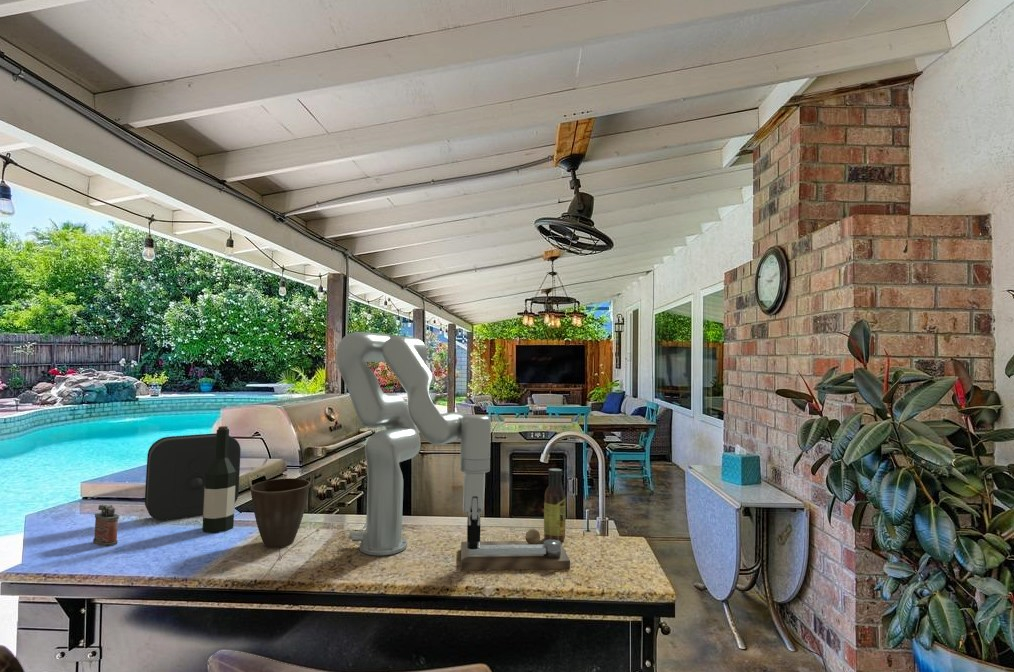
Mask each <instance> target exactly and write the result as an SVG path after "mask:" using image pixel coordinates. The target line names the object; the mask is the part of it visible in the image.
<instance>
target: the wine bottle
mask: <svg viewBox="0 0 1014 672" xmlns="http://www.w3.org/2000/svg"><path fill="white" fill-rule="evenodd" d="M217 428H218V429H216V432H215V433H216V453H215V459H214V460H213V462H212V463H211V465H210V466H209V468H208V469H207V471H206V472H205V489H204V508H203V515H202V528H201V530H202V533H205V534H219V533H223V532H228V531H229V530H231V529H234V522H235V521H234V520H235V504H236V502H235V483H236V470H235V469H234V467H233V465H232V464H231V462H230V460H229V459H228V443H229V436H230V429H229V427H228V426H227V425H226V426H224V425H223V426H218V427H217Z"/></svg>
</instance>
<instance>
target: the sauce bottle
mask: <svg viewBox="0 0 1014 672" xmlns="http://www.w3.org/2000/svg"><path fill="white" fill-rule="evenodd" d="M562 476H563V469H560V468H558V467H557V468H553V467H552V468H549V469H548V486H547V487H546V489H545V492H544V502H543V504H544V505H543V507H544V508H543V534H544V535H543V537H544V539H545V540H549V539H553V540H558V541H560V542H563V541H564V540H565V539H566V510H567V509H566V507H567V506H566V505H567V504H566V501H567V500H566V499H567V497H566V495H565V490H564V488H563V483H562Z"/></svg>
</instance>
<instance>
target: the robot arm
mask: <svg viewBox="0 0 1014 672" xmlns="http://www.w3.org/2000/svg"><path fill="white" fill-rule="evenodd" d="M335 354H336V355H335V358H336V360H335V361H336V365H337V369H338V372H339V373H340V376H341V377H342V380H343V382H344V385H345V386H346V388H347V391H348V394H349V397H350V400H351V402H352V404H353V408H354V410H355V413H356V415H357V418H358V420H359V422H360V424H361V425H362V426H363V427H364V428H366V429H378V428H383V427H385V429H383V430H380V431H377V432H375V433H373V434H372V435H371V436H370V437H369V438H368V439H367V441H366V443H365V446H364V456H365V462H366V463H365V464H366V470H367V471H366V472H367V483H366V484H367V488H366V489H367V494H366V520H365V521H366V522H365V526H366V527H365V530H362V531H350V532H349V540H351V542H359V551H360V552H362V553H363V554H366V555H369V556H380V557H381V556H390V555H395V554H398V553H400V552H402V551H405V549H406V548H407V547H408V540H407V539H406V538H405V537H402V536H403V534H402V533H403V506H404V505H403V503H404V502H403V501H404V478H403V477H404V476H403V472H402V470H401V466H400V463H402V462H404V461H407V460H410V459H413V458H414V457H416V456H417V455H418V453H419V452H420V450H421V445H422V444H421V440H422V439H421V436H420V434H421V435H422V437H423V438H424V439H425V440H426V441H427V442H428V443H430V444H432V445H434V446H443V445H446V444H449V443H453V442H458V441H460V462H459V471H460V472H462V473H463V483H462V484H463V486H462V487H463V490H462V513H463V514H464V515H466V514H467V513H468V516H469V525H468V526H467V524H468V519H467V522H466V523H467V524H466V526H467V528H466V529H467V530H466V542H467V541H468V542H480V541H481V514H482V513H483V511H484V503H485V502H484V501H485V488H486V473H489V472H490V471H491V439H492V438H491V436H492V435H491V433H492V431H491V430H492V428H491V427H492V425H491V424H492V421H491V418H490V417H489V416H488V415H483V414H466V413H462V412H456V411H453V412H446V413H445V412H444V413H440V412H441V411H439V409H438V408H437V407H436V405H435V404H434V402H433V400H432V398H431V396H430V387H431V386H432V385H433V383H434V382H435V376H434V374H433V372H432V371H431V369H430V368H429V366H428V365H427V364H426V360H427V358H428V349H427V346H426V344H425V343H424V342H423V341H422V340H421V339H420V338H418V337H414V336H413V337H411V336H401V335H393V334H388V333H377V332H370V331H369V332H367V331H356V332H355V331H354V332H351V333H347V334H346V335H345V336H343V337H342V339H341V340H340V341H339V344H338V346H337V349H336V353H335ZM367 362H369V363H372V362H373V363H386V365H388V367H389V369H390V370H391V372H392V373H393V374H394V376H395V377H396V379H397V380H398V382H399V383H400V385H401V387H402V388H403V390H404V391H405V393H406V396H407V398H406V400H405V399H404V398H403V397H402V396H401V395H399V394H397V393H394V392H384V391H383V390H382V387H381V386H380V383H379V380H378V378H377V376H376V374H375V373H374V371H373V370H372V369H371V368H370V367H369V366H368V364H367ZM406 401H407V402H406ZM471 515H472V517H471ZM477 515H478V517H477Z"/></svg>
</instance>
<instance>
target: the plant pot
mask: <svg viewBox="0 0 1014 672" xmlns="http://www.w3.org/2000/svg"><path fill="white" fill-rule="evenodd" d="M310 486H311V482H310V481H309V480H307V479H303V478H294V477H292V478H291V477H290V478H289V477H287V478H275V479H268V480H264V481H260V482H256V483H254V484H253V485H252V486H250V495H251V502H252V508H253V513H254V518H255V522H256V526H257V529H258V532H259V534H260V535H259V536H260V538H261V541H262V543H263V545H264V548H265V547H266V548H268V549H279V548H280V549H281V548H285V547H288V546H291V545H292V544H293V543H294V541H295V538H296V537H297V534H298V531H299V530H300V526H301V524H302V520H303V517H304V513H305V510H306V506H307V501H308V496H309V493H310Z"/></svg>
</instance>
